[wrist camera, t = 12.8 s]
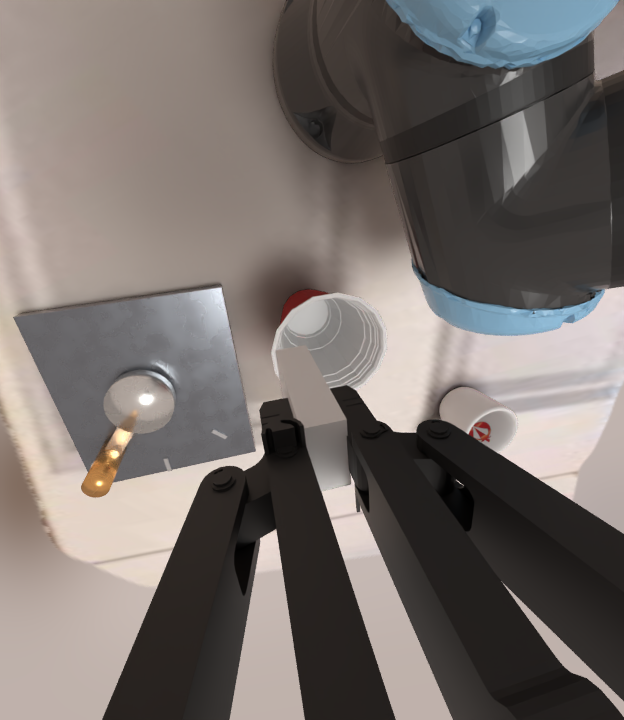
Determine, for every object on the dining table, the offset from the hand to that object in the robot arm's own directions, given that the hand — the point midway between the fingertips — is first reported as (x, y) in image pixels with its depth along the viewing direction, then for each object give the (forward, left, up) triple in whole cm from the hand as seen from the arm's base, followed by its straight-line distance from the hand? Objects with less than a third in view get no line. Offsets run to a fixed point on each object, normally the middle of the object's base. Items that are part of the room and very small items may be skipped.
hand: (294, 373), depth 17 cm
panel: (+11, -14, -24) cm, 30 cm away
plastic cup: (+5, +5, -25) cm, 26 cm away
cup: (+23, +25, -25) cm, 42 cm away
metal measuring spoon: (+13, -17, -23) cm, 31 cm away
